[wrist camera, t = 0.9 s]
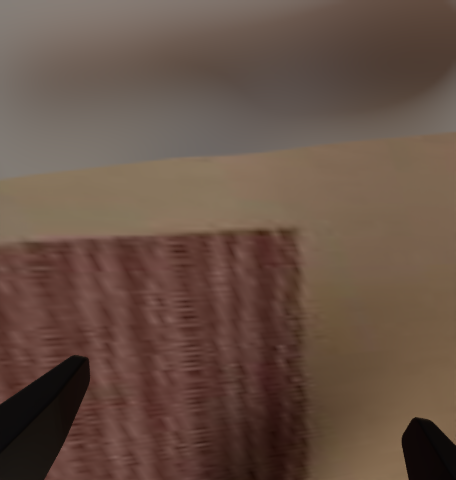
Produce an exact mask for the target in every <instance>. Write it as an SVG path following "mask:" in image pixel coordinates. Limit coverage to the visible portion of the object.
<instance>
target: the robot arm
mask: <svg viewBox="0 0 456 480" xmlns="http://www.w3.org/2000/svg"><path fill="white" fill-rule="evenodd" d="M89 382H90V368H89V359H88V358H87V357H84V356H78V355H73V356H71V357H69V358H68V359H66V360H65V361H63V362H62V363H60V364H59V365H57V366H56V367H55V368H53V369H52V370H50V371H49V372H47V373H46V374H44V375H43V376H41V377H40V378H38V379H37V380H35V381H34V382H32V383H31V384H30V385H28V386H27V387H25V388H24V389H22V390H21V391H19V392H18V393H16V394H15V395H13V396H12V397H10V398H9V399H8V400H6V401H5V402H3V403H2V404H0V480H44V479H45V477H46V475H47V473H48V472H49V470H50V468H51V466H52V464H53V462H54V461H55V459H56V457H57V455H58V453H59V451H60V449H61V448H62V446H63V444H64V442H65V439H66V437H67V435H68V433H69V430H70V428H71V426H72V423H73V421H74V419H75V416H76V414H77V412H78V409H79V407H80V404H81V402H82V400H83V397H84V395H85V393H86V390H87V388H88V385H89ZM402 448H403V453H404V458H405V463H406V468H407V473H408V478H409V480H456V445H455V444H454V443H453V442H452V441H451V440H450V439H449V438H448V437H447V436H446V435H445V434H444V433H443V432H442V431H441V430H440V429H439V428H438V427H437V426H436V425H435V424H434V423H433V422H432V421H431V420H428V419H423V418H418V417H415V418H413V419H412V420H411V422H410V424H409V425H408V427H407V429H406V430H405V432H404V434H403V436H402Z"/></svg>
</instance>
